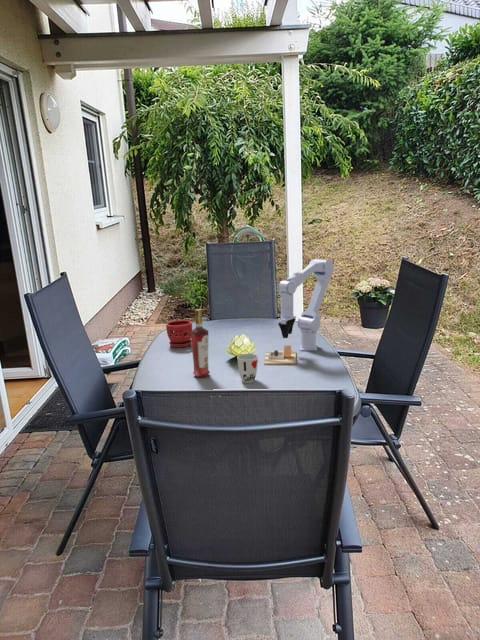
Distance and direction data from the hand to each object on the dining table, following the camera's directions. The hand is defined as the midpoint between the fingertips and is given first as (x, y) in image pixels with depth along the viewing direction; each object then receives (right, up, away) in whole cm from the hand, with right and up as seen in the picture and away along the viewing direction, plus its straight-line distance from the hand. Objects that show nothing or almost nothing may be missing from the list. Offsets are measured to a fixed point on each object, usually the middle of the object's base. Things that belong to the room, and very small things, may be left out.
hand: (287, 335), depth 220 cm
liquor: (-38, -16, -22) cm, 46 cm away
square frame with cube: (-4, -9, -2) cm, 10 cm away
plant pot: (-52, -6, +24) cm, 58 cm away
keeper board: (-3, -10, -2) cm, 11 cm away
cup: (-19, -17, -29) cm, 38 cm away
